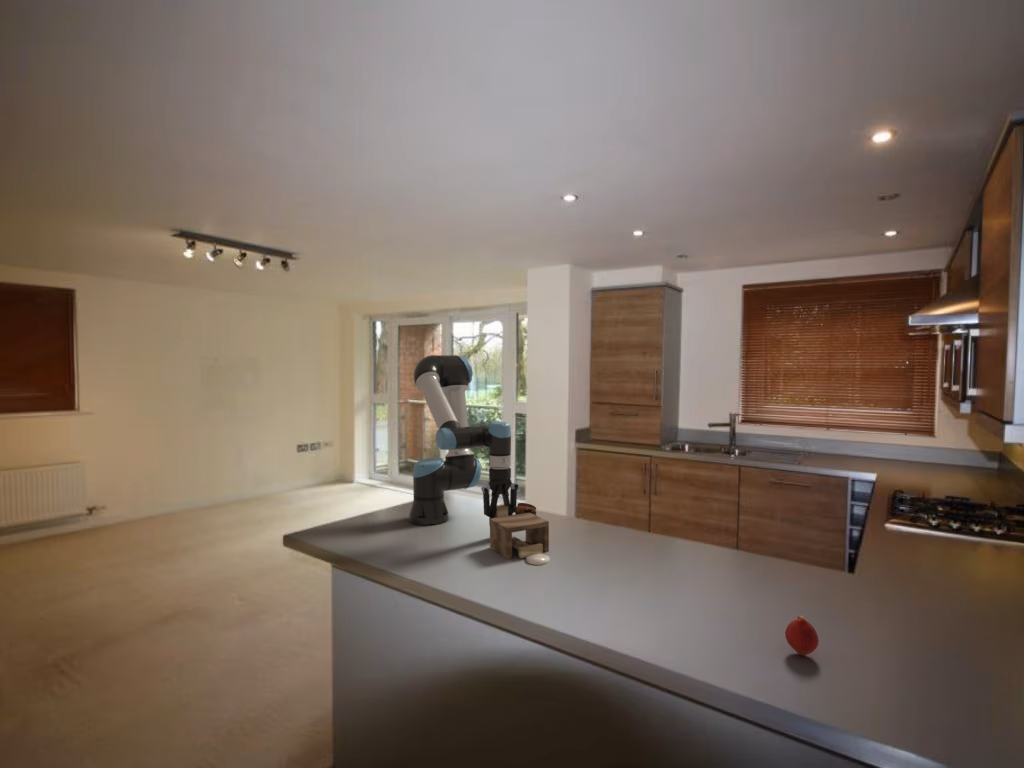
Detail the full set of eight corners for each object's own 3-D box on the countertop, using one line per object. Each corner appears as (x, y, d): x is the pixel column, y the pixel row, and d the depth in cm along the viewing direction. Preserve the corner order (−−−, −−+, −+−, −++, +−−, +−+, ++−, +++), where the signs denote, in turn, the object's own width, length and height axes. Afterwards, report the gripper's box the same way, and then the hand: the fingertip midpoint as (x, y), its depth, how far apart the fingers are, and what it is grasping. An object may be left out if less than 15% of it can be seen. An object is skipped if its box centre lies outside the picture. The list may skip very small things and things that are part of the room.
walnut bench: (490, 547, 169) (489, 518, 169) (529, 540, 176) (529, 512, 176) (507, 559, 158) (507, 528, 158) (548, 550, 166) (548, 521, 166)
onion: (807, 647, 108) (807, 609, 108) (824, 662, 102) (825, 622, 102) (779, 647, 108) (780, 609, 107) (795, 663, 102) (796, 623, 102)
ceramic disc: (522, 560, 159) (522, 556, 159) (541, 556, 162) (541, 552, 162) (534, 567, 153) (534, 563, 153) (554, 563, 156) (554, 559, 156)
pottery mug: (506, 522, 199) (511, 501, 202) (525, 530, 203) (530, 509, 206) (523, 522, 189) (529, 500, 192) (543, 530, 193) (548, 508, 196)
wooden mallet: (487, 538, 179) (487, 506, 178) (507, 534, 182) (507, 503, 182) (520, 558, 158) (520, 522, 158) (542, 554, 162) (542, 519, 162)
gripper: (482, 471, 171) (482, 541, 171) (526, 466, 179) (527, 533, 180) (472, 467, 177) (473, 535, 178) (516, 463, 186) (516, 528, 186)
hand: (500, 534), depth 179 cm, fingers closed on wooden mallet, 4 cm apart
